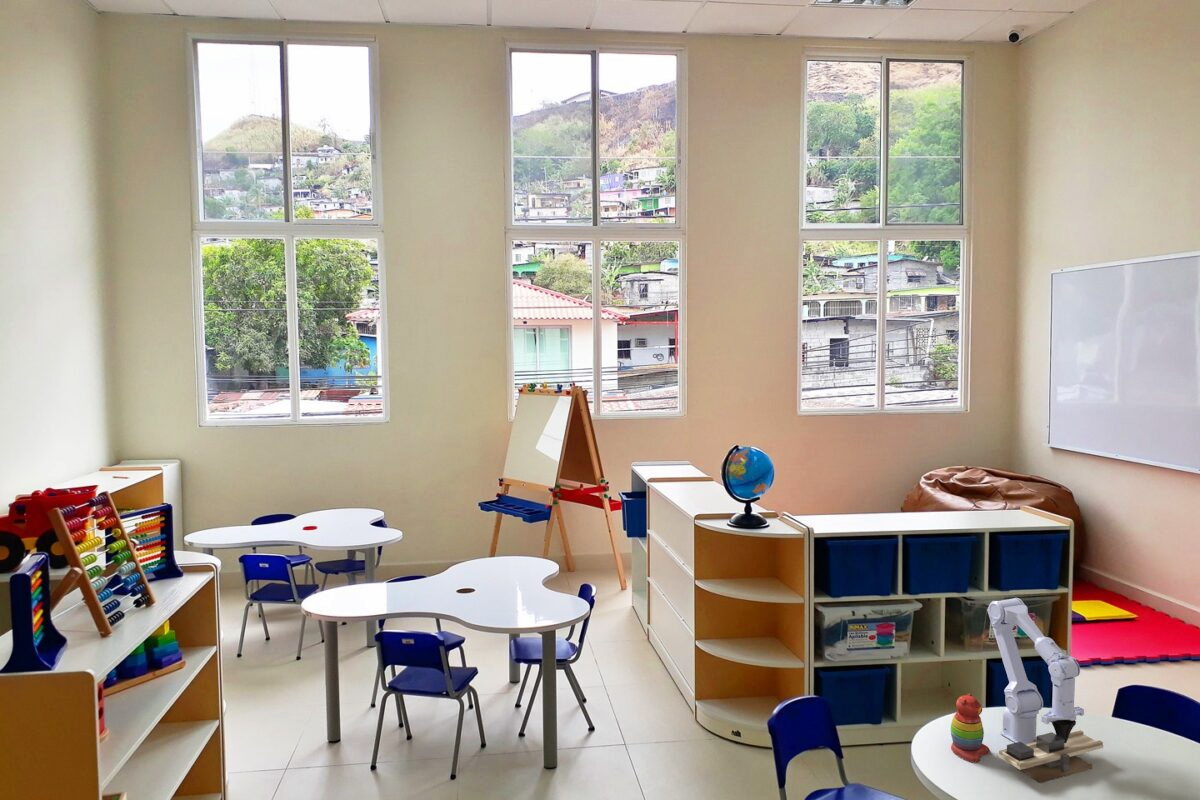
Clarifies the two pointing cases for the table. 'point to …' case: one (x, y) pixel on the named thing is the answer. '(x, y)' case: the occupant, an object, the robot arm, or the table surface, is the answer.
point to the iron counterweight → (1020, 751)
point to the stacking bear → (968, 730)
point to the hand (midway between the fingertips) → (1062, 741)
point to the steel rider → (1050, 743)
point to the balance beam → (1073, 747)
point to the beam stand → (1057, 768)
